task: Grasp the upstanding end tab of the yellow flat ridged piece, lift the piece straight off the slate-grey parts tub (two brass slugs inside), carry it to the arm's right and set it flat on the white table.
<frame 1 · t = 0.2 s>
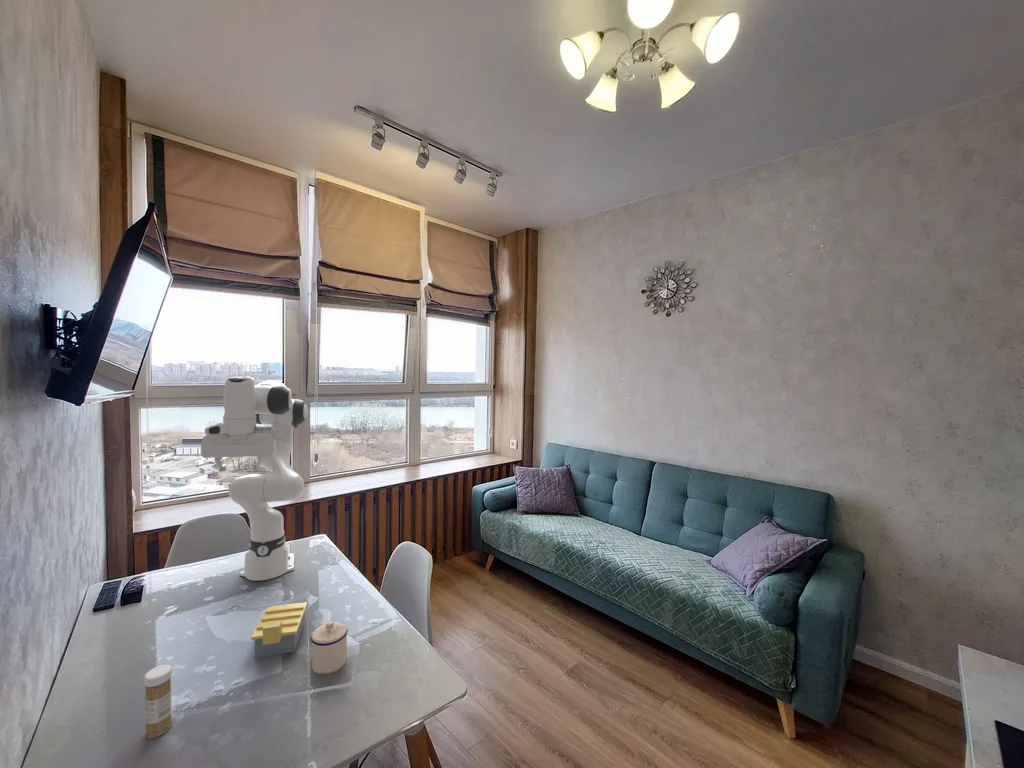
hand: (239, 470, 132), 48 cm above the table, fingers open, 8 cm apart
sprinkles bottle: (158, 731, 92), on the table
slug b: (284, 644, 120), point 1 cm above the table, touching tub
slug a: (278, 633, 125), point 1 cm above the table, touching tub
teacup with lid: (325, 663, 114), on the table
yellow flat ridged piece: (281, 620, 122), point 6 cm above the table, touching tub
tub: (281, 640, 123), on the table
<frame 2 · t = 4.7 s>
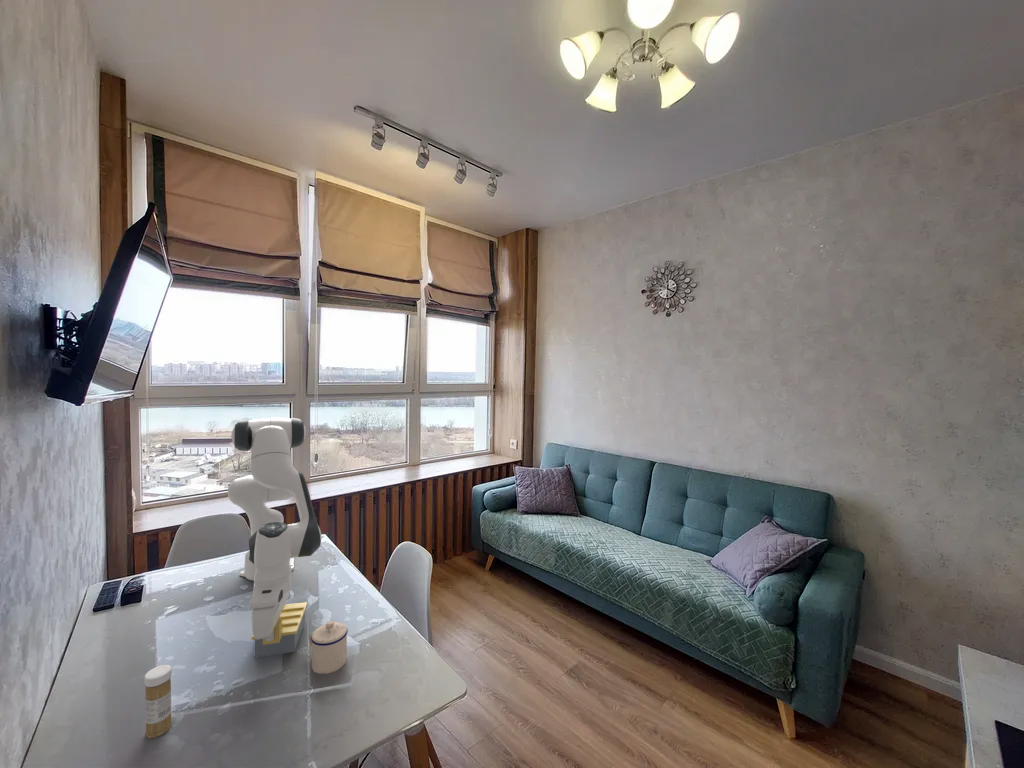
hand: (272, 634, 114), 8 cm above the table, fingers closed on yellow flat ridged piece, 3 cm apart
yellow flat ridged piece: (281, 620, 122), point 6 cm above the table, touching gripper, tub
everything else where it was.
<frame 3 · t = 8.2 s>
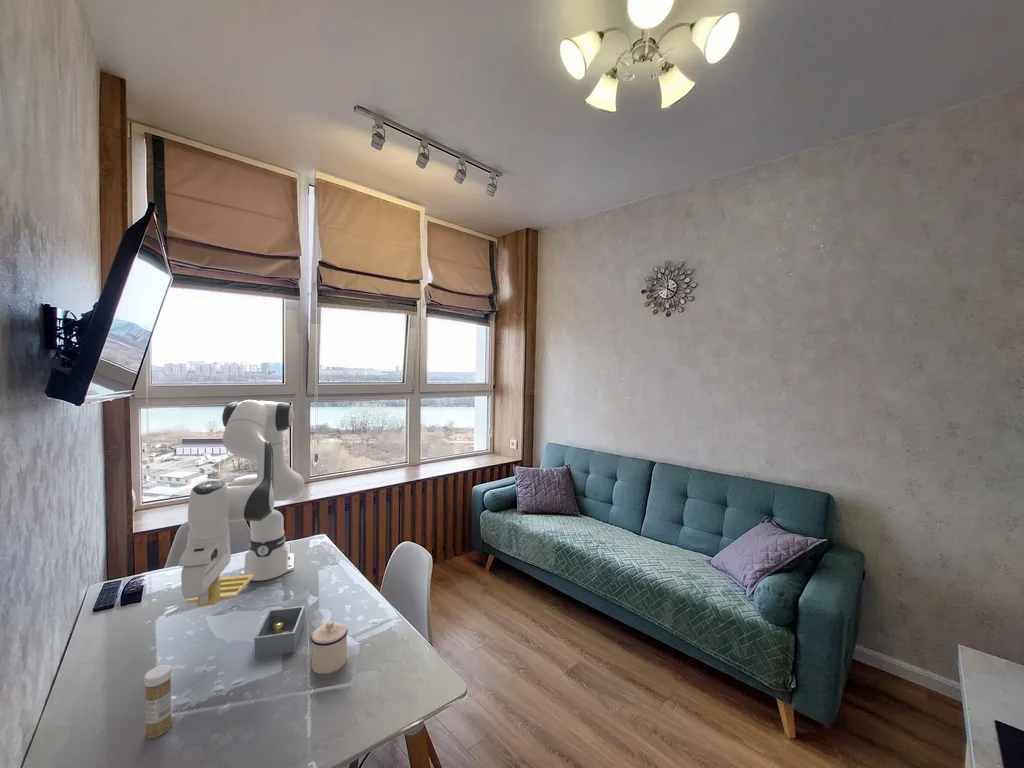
hand: (209, 596, 109), 20 cm above the table, fingers closed on yellow flat ridged piece, 3 cm apart
yellow flat ridged piece: (222, 589, 118), point 18 cm above the table, tilted 6°, touching gripper
everything else where it was.
when the fingers open (3 cm above the table, at t = 11.8 s): yellow flat ridged piece stays where it is, on the table.
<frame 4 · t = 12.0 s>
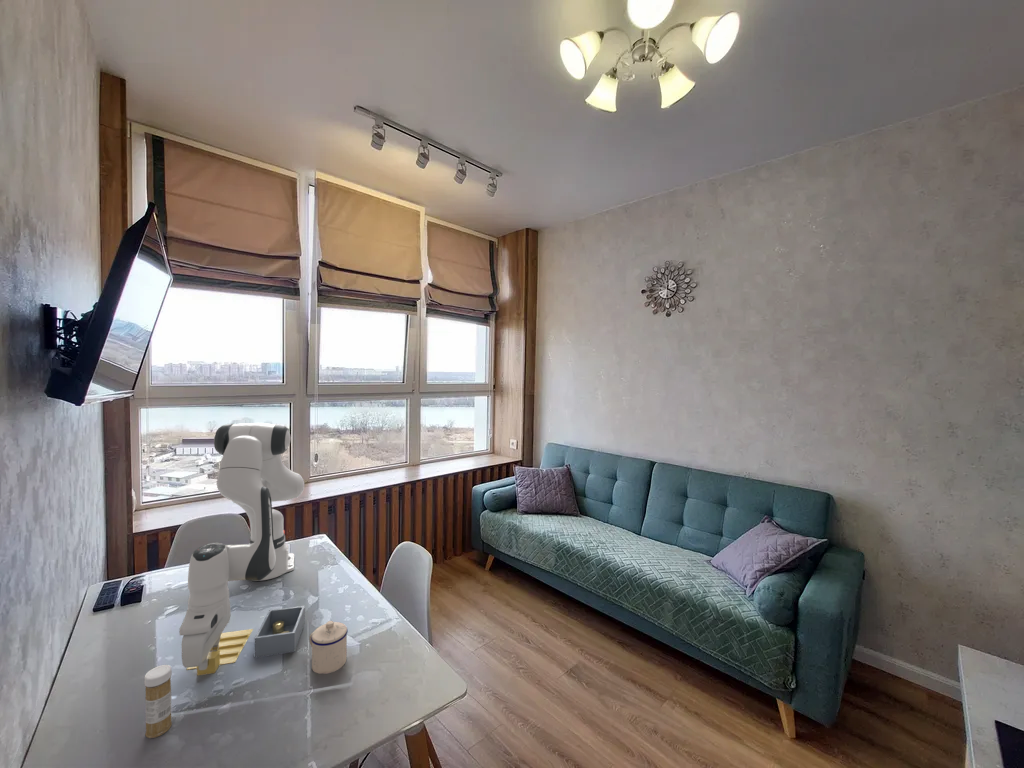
hand: (209, 659, 110), 3 cm above the table, fingers open, 5 cm apart
yellow flat ridged piece: (222, 650, 118), on the table
everything else where it was.
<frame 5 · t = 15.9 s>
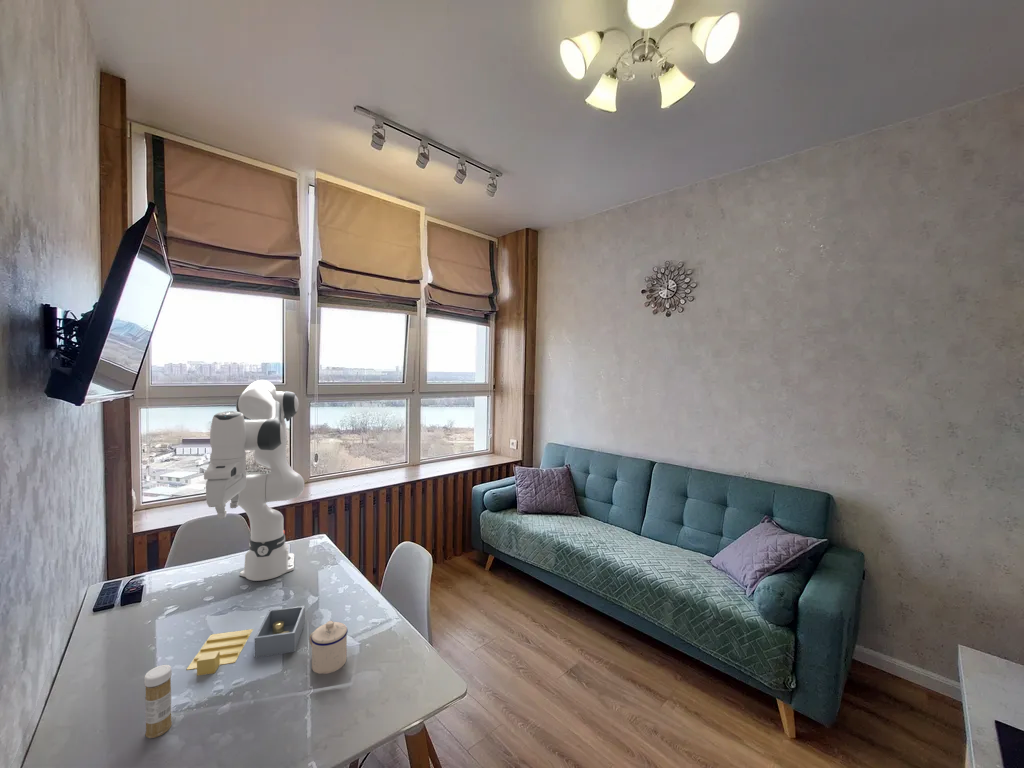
hand: (228, 512, 124), 37 cm above the table, fingers open, 8 cm apart
nothing on the table moved.
at the end: yellow flat ridged piece inside the target area (0.2 cm from its centre), on the table; yellow flat ridged piece touching table; the gripper is holding nothing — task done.
